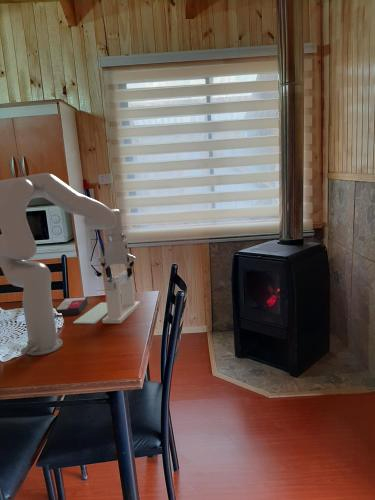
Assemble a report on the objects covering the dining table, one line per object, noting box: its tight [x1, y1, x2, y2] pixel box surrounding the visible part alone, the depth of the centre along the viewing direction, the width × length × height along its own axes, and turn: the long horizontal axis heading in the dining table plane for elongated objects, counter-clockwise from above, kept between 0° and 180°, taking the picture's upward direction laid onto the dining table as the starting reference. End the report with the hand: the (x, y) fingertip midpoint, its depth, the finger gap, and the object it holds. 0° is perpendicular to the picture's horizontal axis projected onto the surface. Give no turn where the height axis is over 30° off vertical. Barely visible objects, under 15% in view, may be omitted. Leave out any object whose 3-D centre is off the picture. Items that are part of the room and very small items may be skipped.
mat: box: [72, 301, 108, 325], centre depth 164 cm, size 26×10×1 cm, turn 167°
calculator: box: [55, 296, 88, 316], centre depth 171 cm, size 11×4×15 cm
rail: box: [104, 270, 129, 291], centre depth 158 cm, size 20×4×4 cm, turn 167°
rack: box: [101, 275, 141, 324], centre depth 159 cm, size 24×8×16 cm, turn 167°
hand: (119, 276), depth 158 cm, fingers open, 9 cm apart
